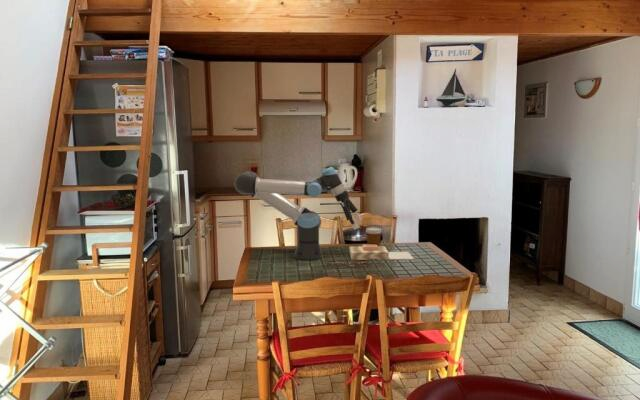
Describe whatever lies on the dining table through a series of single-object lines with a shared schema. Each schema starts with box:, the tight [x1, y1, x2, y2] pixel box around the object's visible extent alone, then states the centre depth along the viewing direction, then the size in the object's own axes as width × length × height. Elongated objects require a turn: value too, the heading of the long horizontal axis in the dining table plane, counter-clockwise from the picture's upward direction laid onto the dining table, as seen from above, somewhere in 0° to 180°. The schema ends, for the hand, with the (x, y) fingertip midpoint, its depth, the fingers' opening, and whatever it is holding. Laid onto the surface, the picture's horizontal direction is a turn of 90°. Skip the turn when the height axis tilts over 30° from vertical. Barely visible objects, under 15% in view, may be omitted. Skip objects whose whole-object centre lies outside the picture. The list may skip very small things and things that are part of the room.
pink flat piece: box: [362, 244, 378, 251], centre depth 264 cm, size 8×6×2 cm
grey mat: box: [388, 251, 415, 261], centre depth 265 cm, size 13×15×1 cm
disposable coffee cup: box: [365, 227, 383, 246], centre depth 281 cm, size 10×10×12 cm
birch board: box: [348, 245, 390, 261], centre depth 264 cm, size 20×14×4 cm
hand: (358, 225), depth 274 cm, fingers open, 13 cm apart
